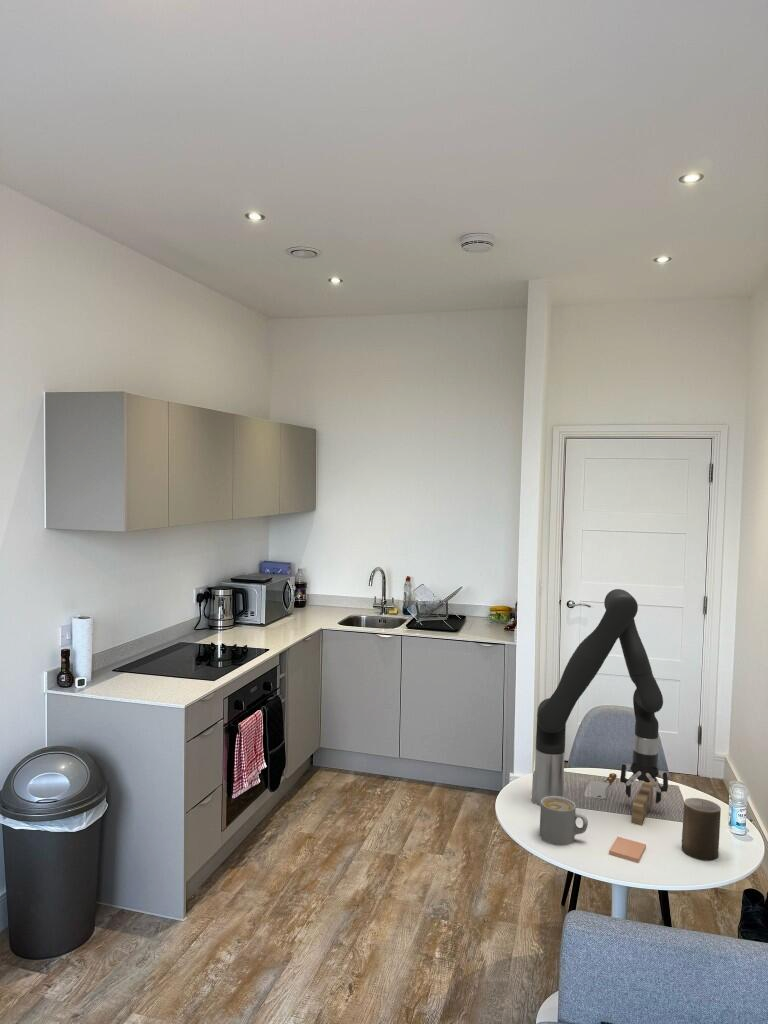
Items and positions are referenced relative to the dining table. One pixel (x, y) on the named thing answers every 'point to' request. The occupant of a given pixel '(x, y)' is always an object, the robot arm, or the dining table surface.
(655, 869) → the dining table surface
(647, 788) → the curved tan slat
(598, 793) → the kitchen cleaver
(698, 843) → the pillar candle
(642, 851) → the tile
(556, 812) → the coffee mug
